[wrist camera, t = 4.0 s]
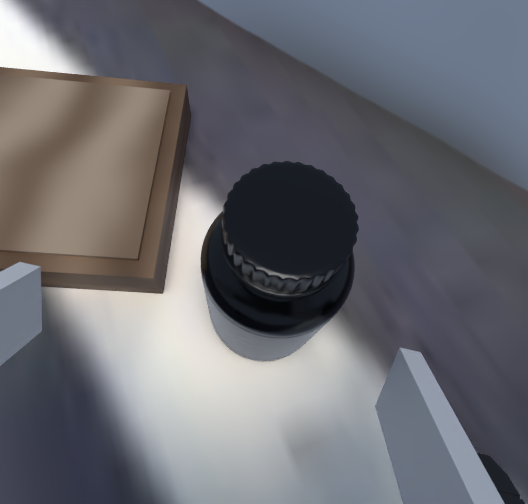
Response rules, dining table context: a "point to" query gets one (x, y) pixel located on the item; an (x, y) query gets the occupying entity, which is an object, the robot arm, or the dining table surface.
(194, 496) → the dining table surface
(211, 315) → the supplement bottle
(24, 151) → the pedestal
